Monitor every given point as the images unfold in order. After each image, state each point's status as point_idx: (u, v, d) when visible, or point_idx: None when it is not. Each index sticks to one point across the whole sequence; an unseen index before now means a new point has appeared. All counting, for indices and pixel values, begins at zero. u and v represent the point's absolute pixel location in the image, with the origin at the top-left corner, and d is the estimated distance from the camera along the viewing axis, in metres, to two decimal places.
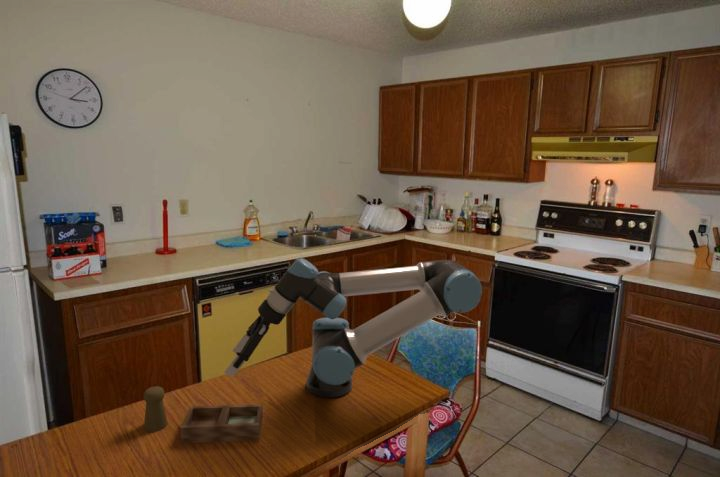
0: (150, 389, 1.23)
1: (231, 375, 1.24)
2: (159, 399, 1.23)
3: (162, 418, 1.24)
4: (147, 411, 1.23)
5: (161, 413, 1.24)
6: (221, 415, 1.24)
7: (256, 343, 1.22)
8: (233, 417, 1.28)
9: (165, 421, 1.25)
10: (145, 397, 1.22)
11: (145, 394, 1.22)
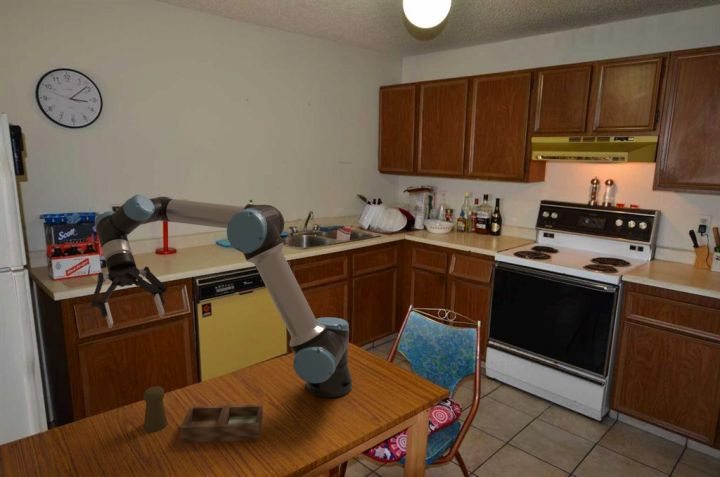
0: (150, 389, 1.23)
1: (109, 323, 1.23)
2: (159, 399, 1.23)
3: (162, 418, 1.24)
4: (147, 411, 1.23)
5: (161, 413, 1.24)
6: (221, 415, 1.24)
7: (96, 286, 1.27)
8: (233, 417, 1.28)
9: (165, 421, 1.25)
10: (145, 397, 1.22)
11: (145, 394, 1.22)
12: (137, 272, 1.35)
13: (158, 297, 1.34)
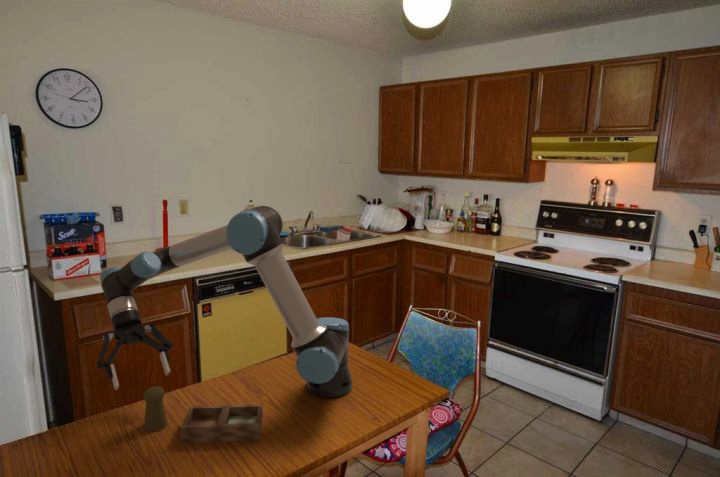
0: (150, 389, 1.23)
1: (115, 386, 1.23)
2: (159, 399, 1.23)
3: (162, 418, 1.24)
4: (147, 411, 1.23)
5: (161, 413, 1.24)
6: (221, 415, 1.24)
7: None
8: (233, 417, 1.28)
9: (165, 421, 1.25)
10: (145, 397, 1.22)
11: (145, 394, 1.22)
12: (142, 329, 1.35)
13: (164, 355, 1.33)
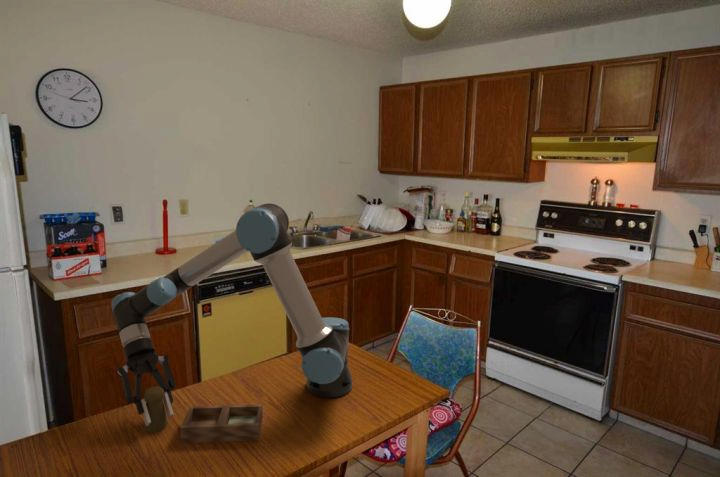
0: (150, 389, 1.23)
1: (147, 422, 1.20)
2: (159, 399, 1.23)
3: (162, 418, 1.24)
4: None
5: (161, 413, 1.24)
6: (221, 415, 1.24)
7: (123, 383, 1.22)
8: (233, 417, 1.28)
9: (165, 421, 1.25)
10: (145, 397, 1.22)
11: (145, 394, 1.22)
12: (155, 358, 1.30)
13: (166, 396, 1.25)
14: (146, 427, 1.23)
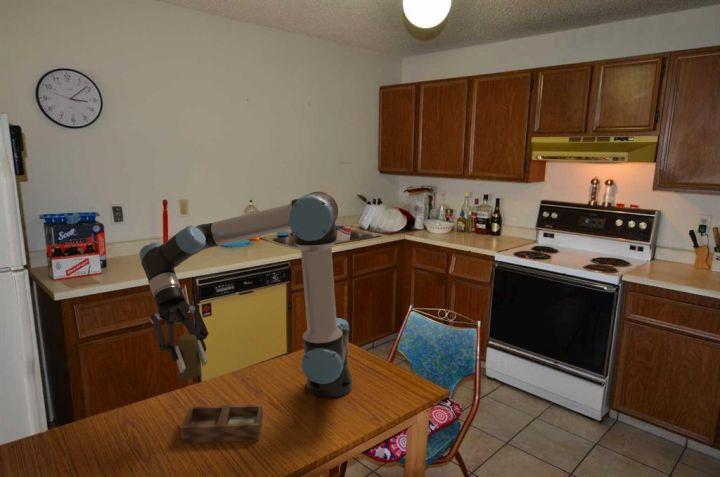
0: (183, 336, 1.20)
1: (181, 368, 1.17)
2: (193, 346, 1.20)
3: (195, 366, 1.21)
4: None
5: (194, 361, 1.21)
6: (221, 415, 1.24)
7: (156, 330, 1.19)
8: (233, 417, 1.28)
9: (199, 369, 1.22)
10: (178, 343, 1.19)
11: (178, 340, 1.19)
12: (186, 308, 1.27)
13: (200, 344, 1.22)
14: (180, 375, 1.20)
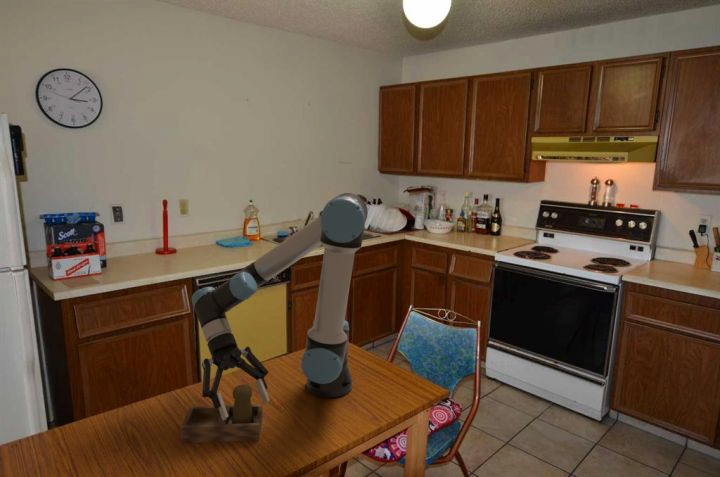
0: (239, 387, 1.23)
1: (224, 416, 1.17)
2: (248, 398, 1.22)
3: (250, 417, 1.23)
4: (236, 409, 1.22)
5: (249, 411, 1.23)
6: None
7: (205, 375, 1.21)
8: None
9: (252, 419, 1.24)
10: (235, 395, 1.21)
11: (235, 392, 1.21)
12: (239, 353, 1.29)
13: (261, 383, 1.27)
14: None
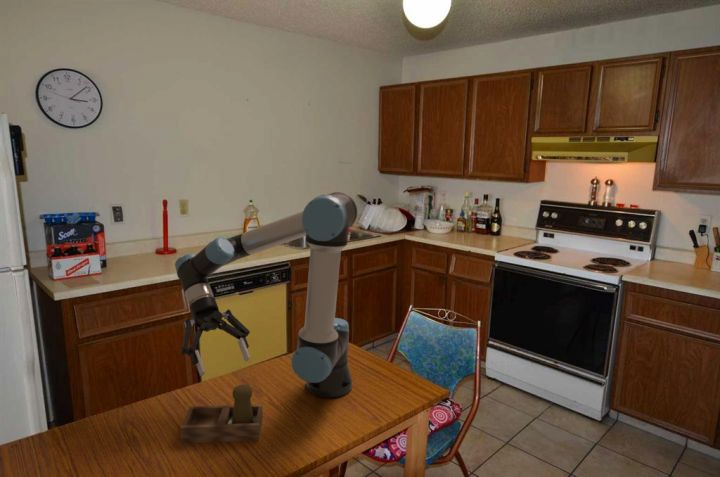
0: (239, 387, 1.23)
1: (201, 371, 1.23)
2: (248, 398, 1.22)
3: (250, 417, 1.23)
4: (236, 409, 1.22)
5: (249, 411, 1.23)
6: (221, 415, 1.24)
7: (185, 333, 1.27)
8: None
9: (252, 419, 1.24)
10: (235, 395, 1.21)
11: (234, 392, 1.21)
12: (220, 316, 1.35)
13: (243, 341, 1.33)
14: None
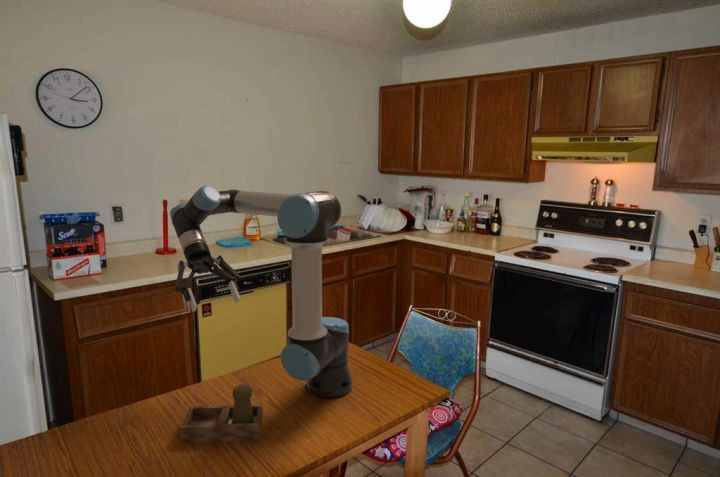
0: (239, 387, 1.23)
1: (193, 307, 1.31)
2: (248, 398, 1.22)
3: (250, 417, 1.23)
4: (236, 409, 1.22)
5: (249, 411, 1.23)
6: (221, 415, 1.24)
7: (178, 273, 1.35)
8: None
9: (252, 419, 1.24)
10: (235, 395, 1.21)
11: (235, 392, 1.21)
12: (212, 260, 1.44)
13: (233, 284, 1.42)
14: None
